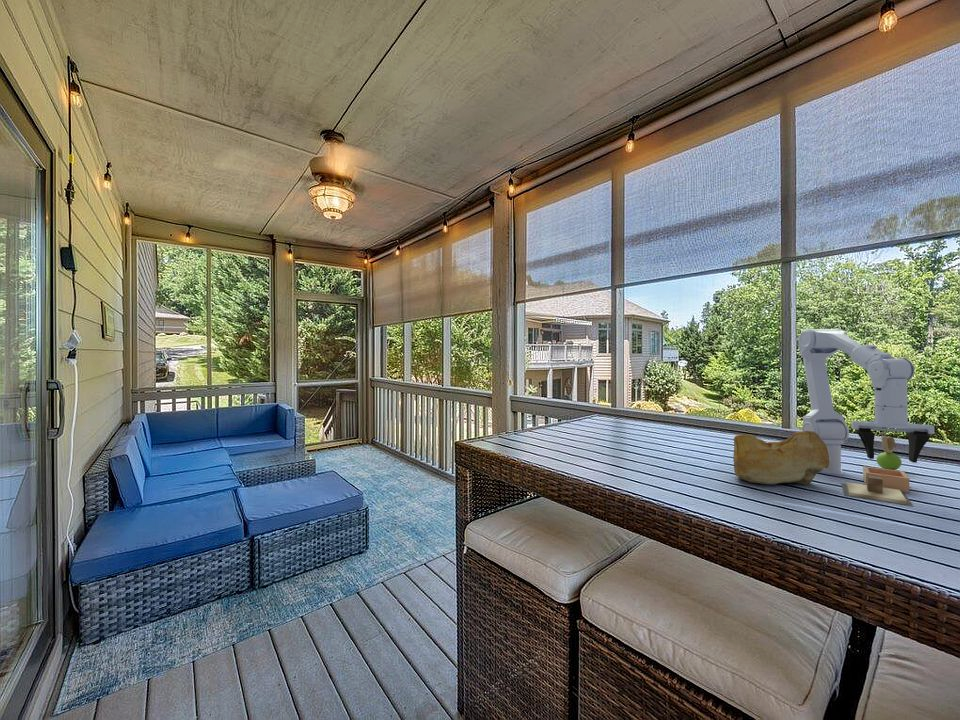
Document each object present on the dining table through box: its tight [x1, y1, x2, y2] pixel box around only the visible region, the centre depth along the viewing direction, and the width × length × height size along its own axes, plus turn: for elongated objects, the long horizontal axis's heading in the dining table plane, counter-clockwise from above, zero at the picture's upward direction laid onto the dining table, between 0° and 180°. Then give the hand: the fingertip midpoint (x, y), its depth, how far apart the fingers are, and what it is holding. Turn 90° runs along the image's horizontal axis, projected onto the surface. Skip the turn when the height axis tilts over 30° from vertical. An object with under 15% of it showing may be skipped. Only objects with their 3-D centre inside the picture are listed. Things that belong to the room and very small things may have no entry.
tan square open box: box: [862, 465, 910, 493], centre depth 107 cm, size 8×8×4 cm
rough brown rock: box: [732, 430, 829, 485], centre depth 115 cm, size 23×16×15 cm
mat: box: [840, 483, 915, 508], centre depth 100 cm, size 12×12×1 cm
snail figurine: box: [876, 431, 903, 470], centre depth 122 cm, size 5×6×12 cm
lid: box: [845, 475, 907, 504], centre depth 100 cm, size 10×10×4 cm
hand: (891, 459), depth 99 cm, fingers open, 7 cm apart
